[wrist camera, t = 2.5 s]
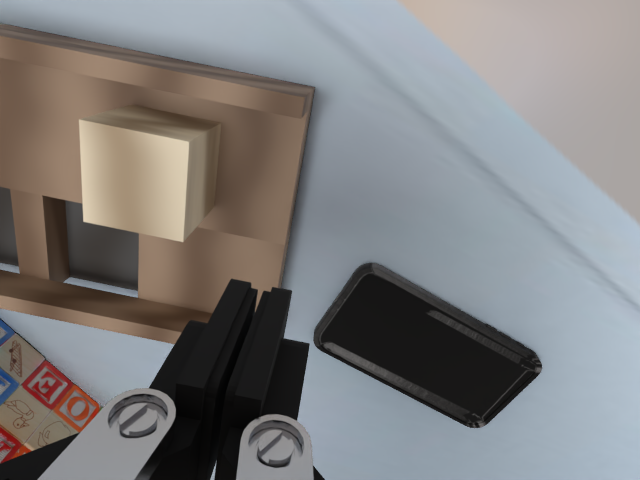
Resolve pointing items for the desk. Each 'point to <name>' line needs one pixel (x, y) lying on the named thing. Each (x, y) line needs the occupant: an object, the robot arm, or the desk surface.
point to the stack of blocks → (36, 399)
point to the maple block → (148, 170)
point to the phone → (424, 347)
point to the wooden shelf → (125, 246)
